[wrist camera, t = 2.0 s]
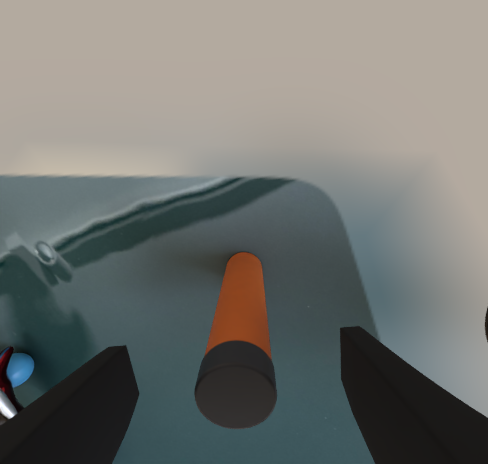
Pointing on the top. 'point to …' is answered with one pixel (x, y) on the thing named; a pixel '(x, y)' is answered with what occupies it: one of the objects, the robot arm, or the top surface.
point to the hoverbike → (12, 380)
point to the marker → (238, 351)
